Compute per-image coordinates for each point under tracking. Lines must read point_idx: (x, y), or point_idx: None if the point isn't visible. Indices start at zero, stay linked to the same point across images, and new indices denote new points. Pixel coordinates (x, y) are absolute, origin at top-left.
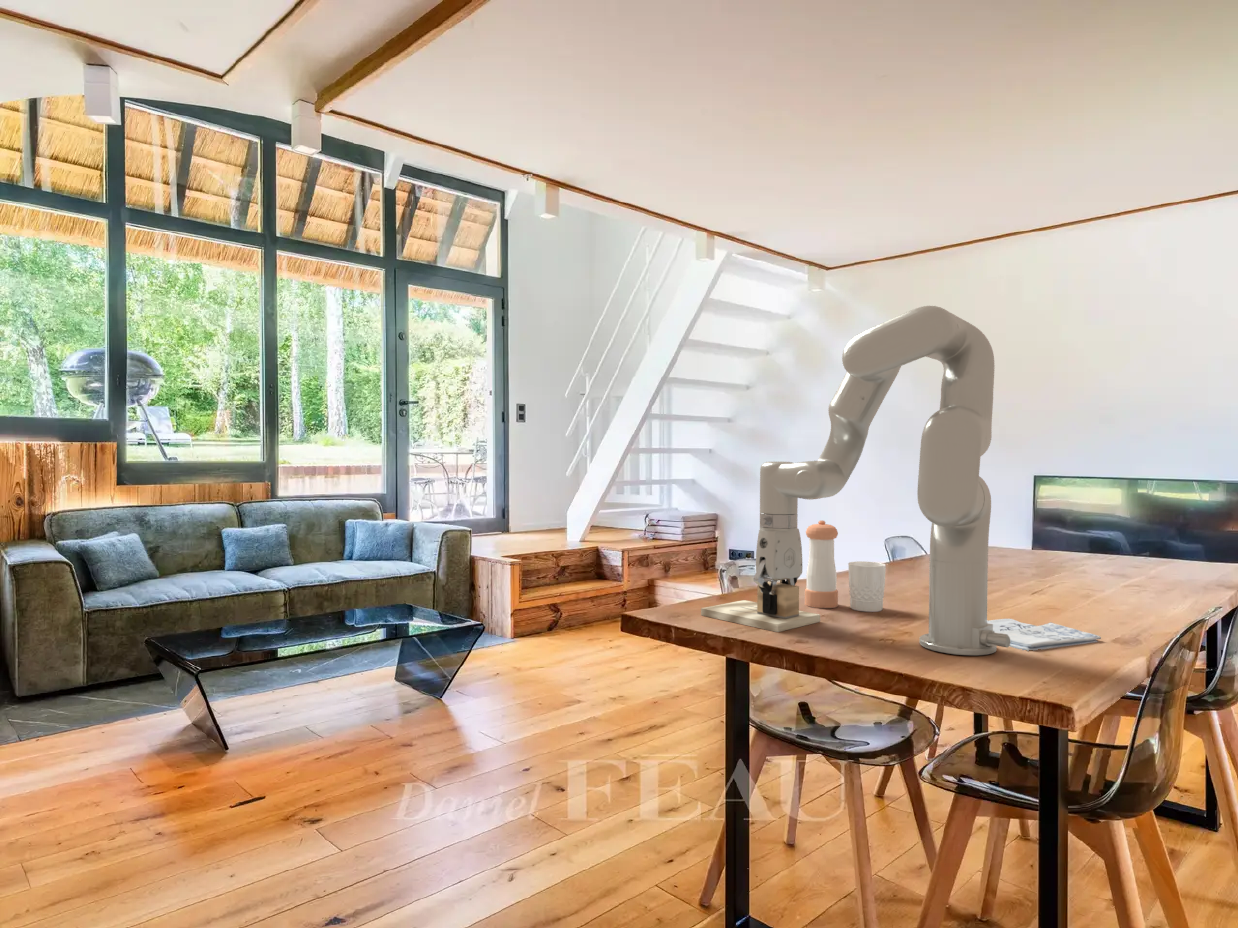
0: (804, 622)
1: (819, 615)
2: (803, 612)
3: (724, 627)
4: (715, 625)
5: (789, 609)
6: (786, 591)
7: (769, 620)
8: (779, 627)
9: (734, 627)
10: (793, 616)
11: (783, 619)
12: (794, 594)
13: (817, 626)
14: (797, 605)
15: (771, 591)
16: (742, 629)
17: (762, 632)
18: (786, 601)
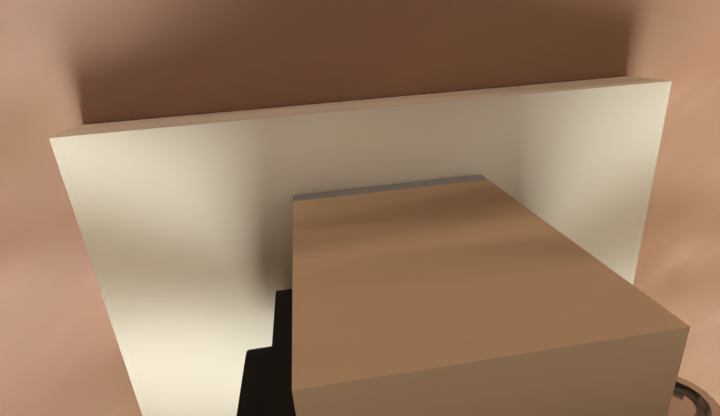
0: (309, 107)
1: (65, 135)
2: (141, 274)
3: (705, 332)
4: (693, 382)
5: (451, 204)
6: (625, 301)
7: (594, 210)
8: (629, 80)
9: (675, 308)
10: (369, 189)
11: (491, 178)
12: (400, 292)
13: (235, 18)
14: (318, 231)
15: (716, 404)
16: (691, 253)
17: (691, 132)
18: (538, 236)
